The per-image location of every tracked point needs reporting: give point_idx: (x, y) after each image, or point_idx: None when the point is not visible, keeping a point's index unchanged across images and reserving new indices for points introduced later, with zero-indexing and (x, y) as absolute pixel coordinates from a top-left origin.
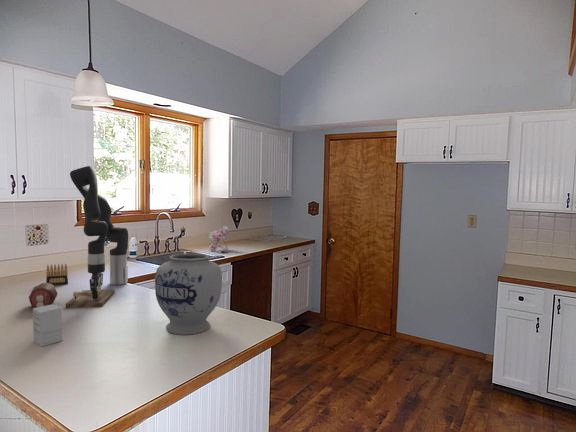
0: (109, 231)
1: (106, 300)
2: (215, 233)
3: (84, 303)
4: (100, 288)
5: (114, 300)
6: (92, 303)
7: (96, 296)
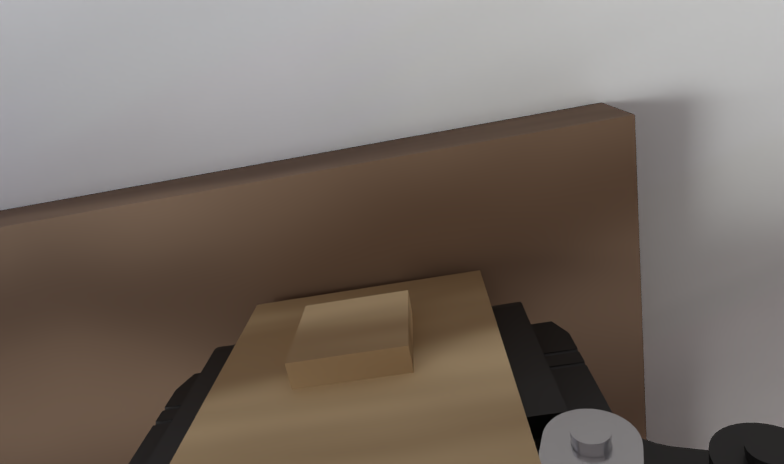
0: None
1: (276, 167)
2: None
3: (644, 423)
4: (245, 442)
5: (142, 49)
6: (636, 297)
7: (531, 334)
